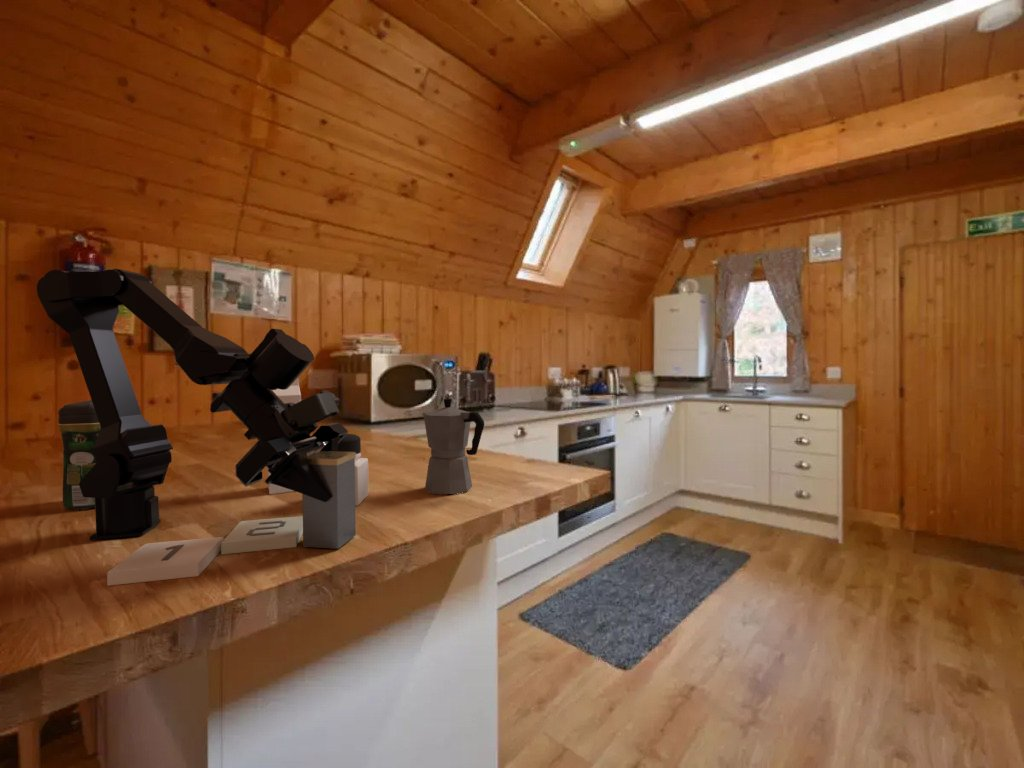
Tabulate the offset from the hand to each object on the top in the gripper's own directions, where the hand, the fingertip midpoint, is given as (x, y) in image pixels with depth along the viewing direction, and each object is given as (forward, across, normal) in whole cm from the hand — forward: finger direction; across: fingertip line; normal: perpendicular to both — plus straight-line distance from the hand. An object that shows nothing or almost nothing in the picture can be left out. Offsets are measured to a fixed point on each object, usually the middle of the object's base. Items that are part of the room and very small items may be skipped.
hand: (338, 494), depth 66 cm
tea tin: (+4, 0, +6) cm, 7 cm away
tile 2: (-3, 0, +13) cm, 13 cm away
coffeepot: (+11, +29, -1) cm, 31 cm away
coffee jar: (-32, +13, +43) cm, 55 cm away
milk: (-13, +26, +23) cm, 37 cm away
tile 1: (-7, -10, +17) cm, 21 cm away
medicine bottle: (-2, +19, +12) cm, 23 cm away
